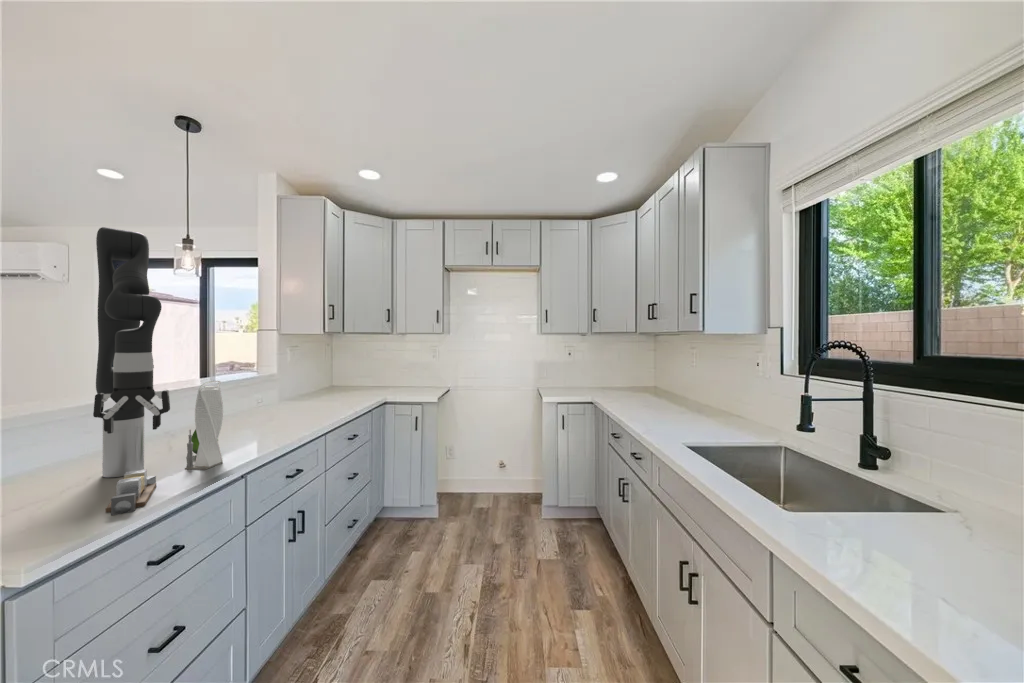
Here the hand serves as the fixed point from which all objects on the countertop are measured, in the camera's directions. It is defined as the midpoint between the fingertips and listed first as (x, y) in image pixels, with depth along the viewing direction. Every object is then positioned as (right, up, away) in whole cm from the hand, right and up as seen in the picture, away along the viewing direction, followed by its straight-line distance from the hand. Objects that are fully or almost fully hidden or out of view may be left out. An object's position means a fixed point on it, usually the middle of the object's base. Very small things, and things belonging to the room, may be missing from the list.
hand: (133, 430), depth 102 cm
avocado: (-12, -18, +39) cm, 45 cm away
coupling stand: (0, -18, 0) cm, 18 cm away
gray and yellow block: (0, -17, 0) cm, 17 cm away
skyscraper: (-2, -18, +27) cm, 32 cm away
